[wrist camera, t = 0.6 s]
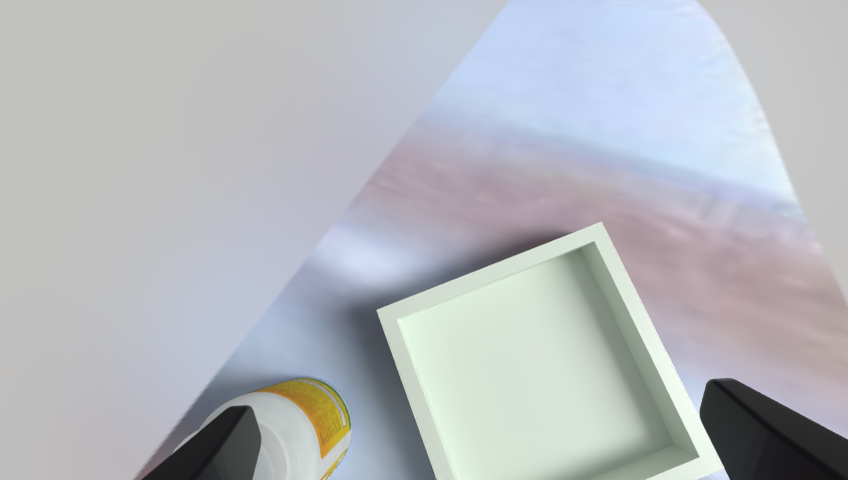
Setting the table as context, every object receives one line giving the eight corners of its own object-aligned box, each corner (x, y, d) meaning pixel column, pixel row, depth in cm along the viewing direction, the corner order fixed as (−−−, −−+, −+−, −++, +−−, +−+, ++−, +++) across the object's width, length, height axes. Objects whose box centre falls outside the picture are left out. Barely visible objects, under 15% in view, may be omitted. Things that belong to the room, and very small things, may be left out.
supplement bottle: (343, 487, 23) (272, 599, 13) (249, 468, 23) (115, 563, 14) (362, 384, 24) (308, 420, 14) (272, 367, 24) (162, 392, 15)
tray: (687, 449, 22) (724, 468, 19) (466, 540, 22) (470, 573, 19) (583, 234, 25) (601, 221, 22) (384, 312, 24) (376, 309, 21)
